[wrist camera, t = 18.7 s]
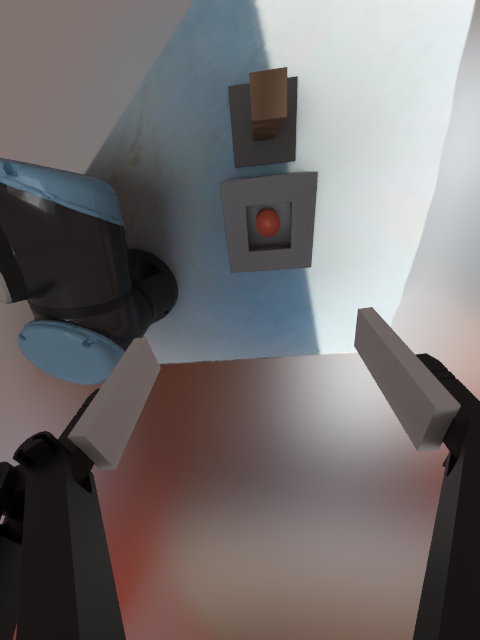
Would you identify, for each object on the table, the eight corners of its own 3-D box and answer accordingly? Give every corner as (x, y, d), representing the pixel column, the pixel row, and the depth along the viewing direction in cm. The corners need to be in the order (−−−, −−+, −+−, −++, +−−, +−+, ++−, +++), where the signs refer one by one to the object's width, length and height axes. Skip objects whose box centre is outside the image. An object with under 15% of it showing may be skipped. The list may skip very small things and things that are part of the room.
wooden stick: (253, 141, 34) (251, 121, 20) (251, 114, 32) (249, 72, 19) (273, 138, 33) (286, 116, 20) (273, 111, 32) (287, 67, 18)
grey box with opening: (235, 254, 43) (230, 272, 36) (227, 179, 37) (219, 182, 29) (300, 249, 42) (311, 267, 34) (304, 171, 36) (317, 171, 28)
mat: (235, 167, 36) (235, 167, 36) (228, 87, 31) (228, 86, 31) (294, 161, 35) (295, 160, 35) (296, 78, 30) (297, 76, 30)
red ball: (256, 231, 39) (256, 238, 35) (255, 208, 37) (255, 212, 33) (278, 229, 39) (280, 235, 35) (277, 205, 37) (280, 209, 33)
